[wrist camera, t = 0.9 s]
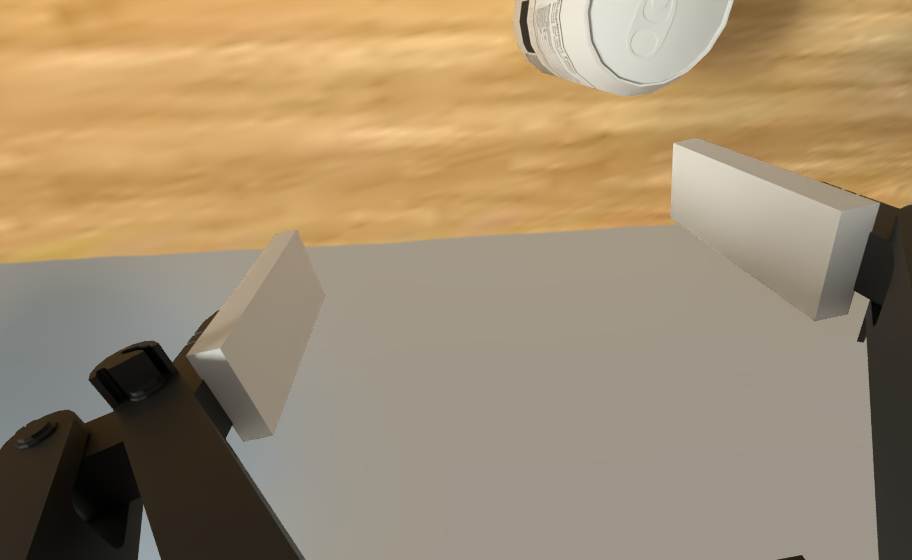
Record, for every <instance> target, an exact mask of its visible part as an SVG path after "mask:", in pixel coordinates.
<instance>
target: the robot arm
mask: <svg viewBox="0 0 912 560" xmlns="http://www.w3.org/2000/svg"><path fill="white" fill-rule="evenodd" d="M671 219H672V220H673V221H675V222H676V223H678V224H679V225H680V226H682V227H683V228H685V229H686V230H688V231H689V232H690V233H692V234H693V235H695V236H696V237H697V238H699V239H700V240H702V241H703V242H704V243H706V244H707V245H709V246H710V247H711V248H713V249H714V250H716V251H717V252H718V253H720V254H721V255H723V256H724V257H725V258H727V259H728V260H730V261H731V262H732V263H734V264H735V265H737V266H738V267H739V268H741V269H742V270H744V271H745V272H747V273H748V274H749V275H751V276H752V277H754V278H755V279H757V280H758V281H759V282H760V283H762V284H763V285H765V286H766V287H767V288H769V289H770V290H772V291H773V292H774V293H776V294H777V295H779V296H780V297H782V298H783V299H784V300H786V301H787V302H789V303H790V304H791V305H793V306H794V307H795V308H797V309H798V310H800V311H801V312H802V313H804V314H806V315H807V316H808V317H810V318H811V319H812V320H814V321H818V320H823V319H827V318H831V317H837V316H842V315H846V314H848V312H849V309H850V305H851V302H852V298H853V295H854V291H856V292H858V293H859V294H861V295H863V296H865V297H866V298H868V299H870V302H869V305H868V308H867V311H866V314H865V318H864V321H863V324H862V327H861V330H860V334H859V337H858V340H857V341H858V342H864V340H865V339H866V337H867V353H868V371H869V387H870V388H869V389H870V406H871V426H872V442H873V462H874V480H875V498H876V515H877V516H876V517H877V534H878V552H879V560H912V205H908V206H905V207H903V208H901V209H899V208H896V207H893V206H890V205H887V204H885V203H882V202H879V201H876V200H873V199H870V198H868V197H865V196H862V195H856V193H853V192H851V191H848V190H842V188H839V187H836V186H834V185H831V184H828V183H825V182H820V181H817V180H814V179H811V178H808V177H805V176H803V175H800V174H797V173H794V172H791V171H788V170H786V169H783V168H780V167H777V166H774V165H772V164H769V163H766V162H763V161H760V160H757V159H755V158H752V157H749V156H746V155H743V154H741V153H738V152H735V151H732V150H729V149H726V148H724V147H721V146H718V145H715V144H712V143H710V142H707V141H704V140H701V139H698V138H693V139H688V140H684V141H680V142H675V143H673V166H672V192H671ZM324 297H325V294H324V292H323V289H322V287H321V285H320V282H319V280H318V278H317V275H316V273H315V271H314V268H313V266H312V264H311V261H310V259H309V257H308V254H307V252H306V249H305V247H304V245H303V242H302V240H301V238H300V235H299V233H298V231H297V230H292V231H288V232H284V233H279V234H276V235H275V236H274V237H273V239H272V240H271V241H270V243H269V244H268V245H267V247H266V248H265V250H264V251H263V252H262V254H261V255H260V256H259V258H258V259H257V261H256V262H255V263H254V265H253V266H252V267H251V268H250V270H249V271H248V273H247V274H246V275H245V277H244V278H243V279H242V281H241V282H240V283H239V285H238V286H237V287H236V289H235V290H234V291H233V293H232V294H231V295H230V297H229V298H228V300H227V301H226V302H225V304H224V305H223V306H222V308H221V309H220V310H218V311H217V312H215V313H214V314H213V315H212V316H210V317H209V318H208V319H207V320H205V321H204V322H203V323H202V325H201V326H200V327H199V329H198V330H197V331H196V332H195V336H192V338H191V339H190V340H189V342H188V343H187V344H188V345H186V346H185V347H184V348H183V349H182V351H181V352H180V353H179V355H178V356H177V357H176V358H175V360H174V361H173V362H171V360H170V359H169V358H168V356H167V355H166V353H165V352H164V350H163V349H162V347H161V346H160V345H159V343H157V342H155V341H144V342H140V343H137V344H133V345H131V346H128V347H126V348H124V349H122V350H120V351H118V352H116V353H114V354H113V355H111V356H109V357H107V358H106V359H105V360H104V361H102V362H101V363H100V364H98V365H97V366H96V367H95V369H94V370H93V371H92V372H91V373H90V376H89V381H90V382H91V383H92V385H93V386H94V387H95V388H96V389H97V390H98V392H99V393H100V394H101V395H102V396H103V397H104V399H105V400H106V401H107V402H108V404H109V405H110V406H111V407H112V408H113V410H114V412H111V413H109V414H107V415H104V416H102V417H99V418H97V419H94V420H92V421H89V422H87V423H84V422H83V421H82V420H81V419H80V418H79V417H78V416H77V415H76V414H75V413H74V412H72V411H70V410H63V411H57V412H54V413H52V414H49V415H46V416H44V417H42V418H40V419H38V420H34V421H32V422H30V423H28V424H27V425H26V427H22V428H21V429H20V430H18V431H17V432H16V433H15V435H14V436H13V437H11V438H10V439H9V440H8V441H7V442H6V443H5V444H4V445H3V447H2V448H1V449H0V560H138V552H139V541H140V532H141V521H142V512H143V504H144V507H145V510H146V514H147V517H148V520H149V523H150V526H151V529H152V532H153V536H154V539H155V542H156V545H157V548H158V551H159V554H160V557H161V560H305V558H304V557H303V555H302V554H301V552H300V551H299V549H298V548H297V546H296V544H295V543H294V542H293V540H292V538H291V537H290V535H289V534H288V532H287V531H286V529H285V528H284V526H283V525H282V523H281V522H280V520H279V519H278V517H277V516H276V514H275V513H274V511H273V510H272V508H271V507H270V505H269V504H268V502H267V501H266V499H265V498H264V496H263V494H262V493H261V491H260V490H259V488H258V487H257V485H256V484H255V482H254V481H253V479H252V478H251V477H250V475H249V473H248V472H247V470H246V469H245V467H244V466H243V464H242V463H241V461H240V460H239V458H238V457H237V455H236V454H235V452H234V451H233V449H232V448H231V446H230V445H229V444H228V442H227V441H226V437H227V435H228V433H229V430H230V429H231V426H233V427H234V429H235V430H236V432H237V433H238V435H239V436H240V438H241V439H242V440H243V442H245V441H249V440H254V439H259V438H264V437H268V436H272V435H274V432H275V430H276V427H277V424H278V421H279V419H280V416H281V413H282V411H283V408H284V405H285V403H286V400H287V397H288V394H289V392H290V389H291V386H292V384H293V381H294V378H295V375H296V373H297V370H298V367H299V365H300V362H301V359H302V356H303V354H304V351H305V348H306V346H307V343H308V340H309V338H310V335H311V332H312V330H313V327H314V324H315V321H316V319H317V316H318V313H319V311H320V308H321V305H322V302H323V300H324ZM779 560H805V559H804V557H803V556H802V555H800V556H795V557H789V558H785V559H779Z"/></svg>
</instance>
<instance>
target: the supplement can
mask: <svg viewBox="0 0 912 560" xmlns="http://www.w3.org/2000/svg"><path fill="white" fill-rule="evenodd" d="M733 1H734V0H515V7H514V16H513V26H514V32H515V37H516V42H517V45H518V47H519V48H520V50H521V52H522V54H523V55H524V57H525V59H526V61H528V62H529V63H530V64H531V65H533V66H534V67H535V68H536V69H538V70H539V71H540V72H542V73H546V74H549V75H552V76H556V77H559V78H562V79H566V80H569V81H572V82H576V83H579V84H583V85H586V86H589V87H593V88H596V89H599V90H603V91H606V92H610V93H613V94H617V95H620V96H632V95H640V94H648V93H652V92H654V91H656V90H658V89H660V88H662V87H664V86H666V85H668V84H670V83H672V82H674V81H676V80H677V79H678V78H679V77H680V76H681V75H682V74H684V73H686V72H688V71H689V70H690V69H691V68H692V67H693V66H694V65H696V64H697V63H698V62H699V61H700V60H701V59H702V58H703V57H704V56H705V55H706V54H707V53H708V52H709V51H710V50H711V48H712V46H713V45H714V43H715V42H716V40H717V38H718V37H719V35H720V34H721V32H722V31H723V29H724V27H725V26H726V23H727V20H728V17H729V14H730V11H731V7H732V4H733Z"/></svg>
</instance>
